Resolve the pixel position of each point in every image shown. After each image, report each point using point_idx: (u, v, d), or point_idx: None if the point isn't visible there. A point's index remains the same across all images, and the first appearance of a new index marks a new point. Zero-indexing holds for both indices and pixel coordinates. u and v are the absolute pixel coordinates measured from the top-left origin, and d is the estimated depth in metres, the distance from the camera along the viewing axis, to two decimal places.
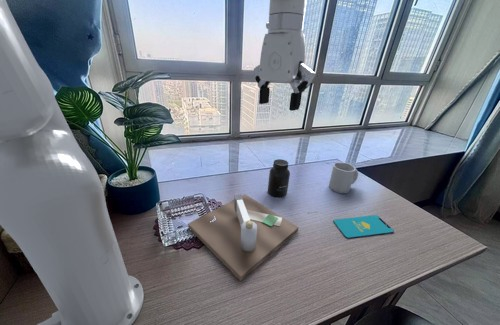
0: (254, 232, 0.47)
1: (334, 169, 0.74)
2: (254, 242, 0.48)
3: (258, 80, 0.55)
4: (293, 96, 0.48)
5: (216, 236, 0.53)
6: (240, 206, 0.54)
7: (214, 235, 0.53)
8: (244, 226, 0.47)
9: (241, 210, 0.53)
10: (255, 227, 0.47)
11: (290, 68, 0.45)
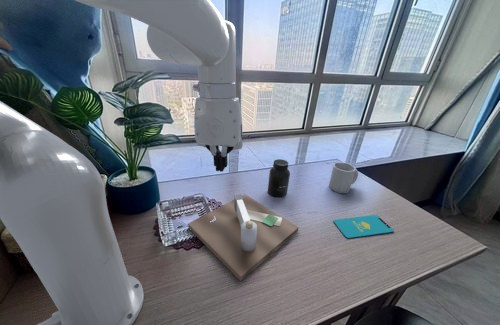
0: (254, 232, 0.47)
1: (334, 169, 0.74)
2: (254, 242, 0.48)
3: None
4: (221, 159, 0.49)
5: (216, 236, 0.53)
6: (240, 206, 0.54)
7: (214, 235, 0.53)
8: (244, 226, 0.47)
9: (241, 210, 0.53)
10: (255, 227, 0.47)
11: (235, 134, 0.45)
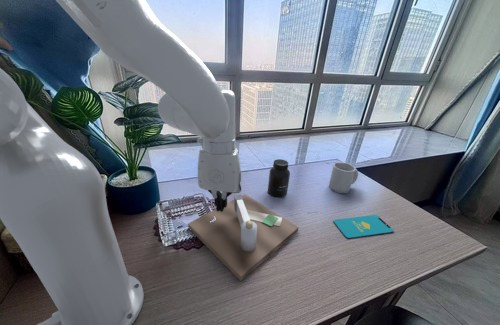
0: (254, 232, 0.47)
1: (334, 169, 0.74)
2: (254, 242, 0.48)
3: None
4: (222, 201, 0.54)
5: (216, 236, 0.53)
6: (240, 206, 0.54)
7: (214, 235, 0.53)
8: (244, 226, 0.47)
9: (241, 210, 0.53)
10: (255, 227, 0.47)
11: (234, 182, 0.50)
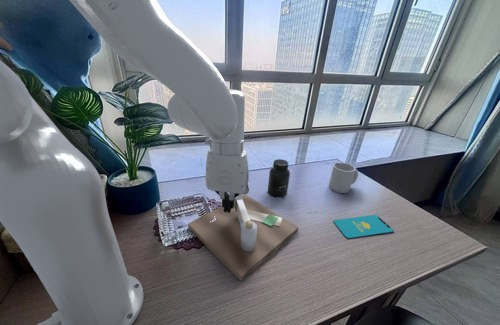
0: (254, 232, 0.47)
1: (334, 169, 0.74)
2: (254, 242, 0.48)
3: (219, 192, 0.54)
4: (229, 202, 0.54)
5: (216, 236, 0.53)
6: (240, 206, 0.54)
7: (214, 235, 0.53)
8: (244, 226, 0.47)
9: (241, 210, 0.53)
10: (255, 227, 0.47)
11: (243, 183, 0.50)
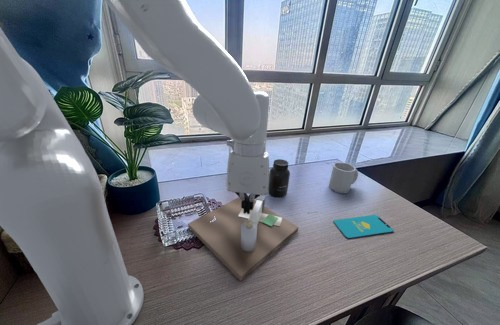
0: (250, 233, 0.46)
1: (334, 169, 0.74)
2: (251, 244, 0.48)
3: (239, 193, 0.54)
4: (249, 204, 0.54)
5: (216, 236, 0.53)
6: (255, 206, 0.54)
7: (214, 235, 0.53)
8: (244, 224, 0.48)
9: (254, 210, 0.53)
10: (253, 229, 0.47)
11: (265, 184, 0.49)
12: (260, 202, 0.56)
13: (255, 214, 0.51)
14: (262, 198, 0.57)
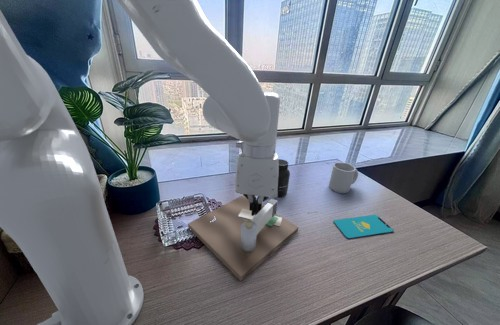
0: (248, 233, 0.46)
1: (334, 169, 0.74)
2: (248, 244, 0.48)
3: (247, 195, 0.53)
4: (258, 206, 0.53)
5: (216, 236, 0.53)
6: (264, 208, 0.54)
7: (214, 235, 0.53)
8: (245, 224, 0.48)
9: (260, 212, 0.52)
10: (252, 230, 0.46)
11: (274, 187, 0.49)
12: (270, 205, 0.55)
13: (260, 216, 0.51)
14: (274, 202, 0.56)
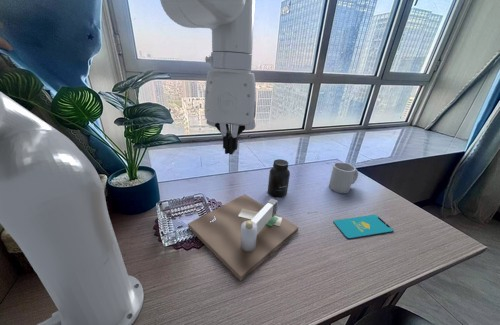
0: (248, 233, 0.46)
1: (334, 169, 0.74)
2: (248, 244, 0.48)
3: (220, 128, 0.46)
4: (232, 140, 0.46)
5: (216, 236, 0.53)
6: (264, 208, 0.54)
7: (214, 235, 0.53)
8: (245, 224, 0.48)
9: (260, 212, 0.52)
10: (252, 230, 0.46)
11: (249, 110, 0.41)
12: (270, 205, 0.55)
13: (260, 216, 0.51)
14: (274, 202, 0.56)
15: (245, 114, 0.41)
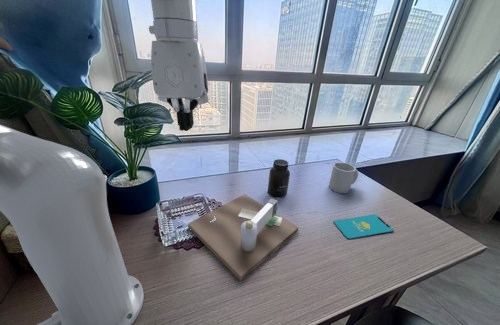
0: (248, 233, 0.46)
1: (334, 169, 0.74)
2: (248, 244, 0.48)
3: None
4: (185, 116, 0.45)
5: (216, 236, 0.53)
6: (264, 208, 0.54)
7: (214, 235, 0.53)
8: (245, 224, 0.48)
9: (260, 212, 0.52)
10: (252, 230, 0.46)
11: (197, 82, 0.40)
12: (270, 205, 0.55)
13: (260, 216, 0.51)
14: (274, 202, 0.56)
15: (193, 86, 0.40)
